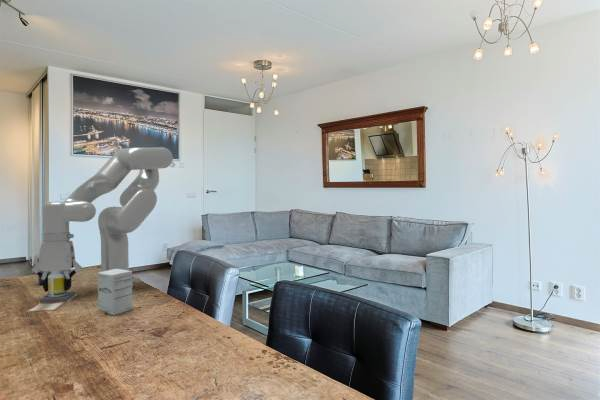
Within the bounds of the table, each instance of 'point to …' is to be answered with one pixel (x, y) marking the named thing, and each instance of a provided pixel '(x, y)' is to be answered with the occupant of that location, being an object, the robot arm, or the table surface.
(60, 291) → the supplement bottle
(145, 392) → the table surface
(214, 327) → the table surface
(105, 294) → the supplement box
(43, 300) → the ink pad
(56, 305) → the stamping board
